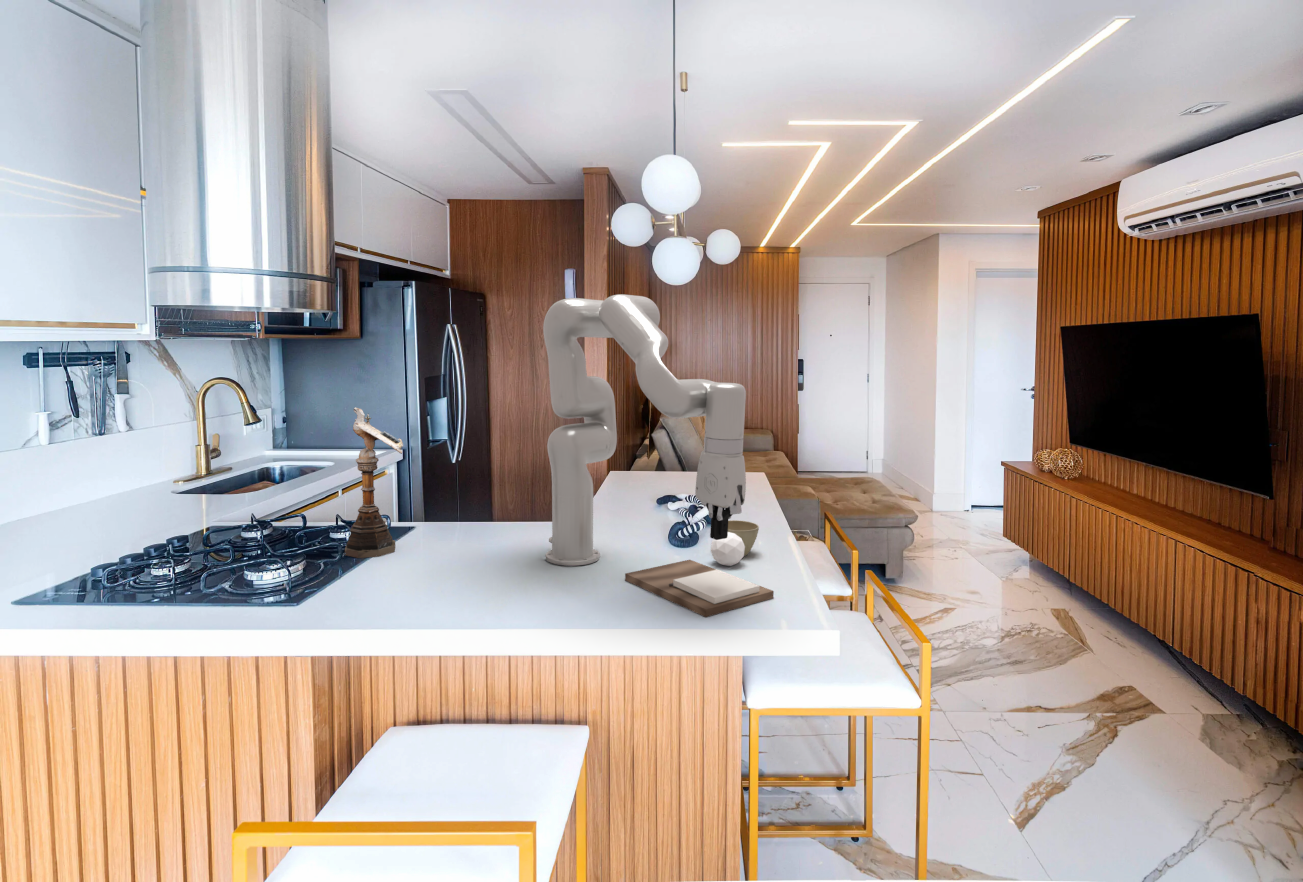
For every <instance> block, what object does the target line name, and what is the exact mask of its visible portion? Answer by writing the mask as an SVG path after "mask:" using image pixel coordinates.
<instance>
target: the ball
mask: <svg viewBox="0 0 1303 882" xmlns="http://www.w3.org/2000/svg"><path fill="white" fill-rule="evenodd" d="M710 545H711V546H710V553H711V556H712V558H713V560H715V561H716V563H718V564H720V565H722V566H727V567H732V566H734V565H736V564H738V563H739V562H741V560H742V558H743V557H745V556H744V550H745V546H744V543H743V541H742V538H740V537H739V536H737V535H736V534H735V533H730V532H728V536H727V538H725V539H720V540H715V539H713V540H711V544H710Z"/></svg>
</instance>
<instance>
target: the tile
mask: <svg viewBox="0 0 1303 882" xmlns="http://www.w3.org/2000/svg"><path fill="white" fill-rule="evenodd" d="M673 586H675V587H677V588H680V589H682V590H684V591H686V592H689V593H691V594H693V595H695V596H697V597H700V598H702V599H704V600H706V601H709V602H711V603H713V604H717V603H721V602H724V601H728V600H732V599H735V598H739V597H743V596H746V595H750V594H754V593H757V592H759V590H760V586H761V585H759V584H756V583H754V582H751V581H748V580H746V579H743V578H741V577H738V576H736V575H733V574H730V573H728V572H725V571H723V570H720V569H716V570H713V571H709V572H704V573H700V574H696V575H692V576H687V577H683V578H679V579H674V580H673Z"/></svg>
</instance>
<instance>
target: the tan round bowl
mask: <svg viewBox="0 0 1303 882" xmlns="http://www.w3.org/2000/svg"><path fill="white" fill-rule="evenodd" d="M759 528H760V526H759V525H758V523H755V522H752V521H747V520H738V519H734V520H733V519H732V520H731V519H728V532H730V533H735V534H736V535H737V536H739V537H740V538H742V541H743V543H744V546H745V550H744V556H743V557H746V556H748V554H749V553H750V551H751V550H752V548H753V547H754V545H755V542H756V540H757V537H758V534H759Z"/></svg>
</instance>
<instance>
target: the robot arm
mask: <svg viewBox="0 0 1303 882" xmlns="http://www.w3.org/2000/svg"><path fill="white" fill-rule="evenodd" d="M660 313H661V312H660V310H659V307H658V306H657V303H655V302H654V301H653V300H652V299H650V298H648V297H647V296H643V295H632V294H624V293H623V294H620V293H619V294H614V295H610V296H608V297H607V298H605V299H604V300H603V299H602V300H600V299H591V298H582V297H581V298H579V297H570V298H564V299H560V300H557V301H556V302H554V303H553V304H552V305H551V306H550V307H549V308H548V311H547V312H546V314H545V316H544V320H543V328H542V329H543V330H542V331H543V340H544V344H545V348H546V354H547V361H548V374H549V375H548V376H549V390H550V391H549V392H550V403H551V407H552V410H553V413H554V414H555V415H556V416H557V417H559V418H562V419H581V418H583V421H584V423H583V422H582V423H581V422H580V423H571V424H565V425H561V426H559V427H557V428H555V429H554V430H553V431H552V432H551V433H550V435H549V436H548V439H547V443H546V444H547V446H546V448H547V455H548V459H549V463H550V472H551V508H552V509H551V510H552V511H551V513H552V515H551V516H552V518H551V529H552V530H551V531H552V532H551V536H550V537H549V538H548V542H549V543H550V544H551V549H550V550H548V551H547V552H546V553H545V560H546V562H548V563H551V564H553V565H559V566H564V567H565V566H567V567H568V566H573V567H574V566H576V567H577V566H585V565H589V564H593V563H595V562H597V561H598V560H600V557H601V556H600V551H598V550H597V549H594V481H593V478H592V475H591V473H590V471H589V468H588V466H587V464H592V463H599V462H603V461H607V460H608V459H610V458H611V457H612V456H613V455H614V453H615V451H616V449H617V444H618V443H617V442H618V434H617V430H618V429H617V419H616V418H617V415H616V402H615V401H616V400H615V395H614V391H613V389H612V387H611V385H610V383H609V382H608V381H607V380H606V379H604V378H603V377H600V376H589V375H588V372H587V359H586V354H585V353H584V350H583V347H582V346H581V344H580V342H578V338H602V339H605V338H606V339H608V338H609V339H610V338H612V339H614V340H615V341H616V342H617V344H618V345H619V346H620V347H621V348H622V350H623V351H624V352H625V353H626V354H627V355H628V356H629V358H630V359H631V360H632V361H633V362H634V363H635V375H636V379H637V382H638V386H639V387H640V390H641V391H642V392H643V394H644V395H645V396H646V398H647V399H648V400H649V401H650V403H652V405H653V406H654V407H655V408H656V409H657V410H658V411H659V412H660V413H661V414H663V415H664V416H666V417H668V418H670V419H676V420H677V419H686V418H687V419H688V418H698V417H705V421H704V422H705V423H704V438H703V450H702V451H700V452H701V453H700V456H699V459H698V465H697V471H696V479H695V498H696V499H697V500H698V501H699V502H700V504H701V505H702V506H704V507H706V509H707V511H708V516H709V518H710V531H709V538H710V539H713V540H714V539H715V540H720V539H725V538H727V536H728V520H731V519H732V516H733V515H739V514H742V506H743V505H744V504H745V501H746V500H745V499H746V491H747V489H746V488H747V485H746V484H747V482H746V481H747V478H746V475H747V474H746V464H745V463H746V462H745V456H744V455H743V454H744V453H743V452H744V436H745V435H744V432H745V420H746V419H745V416H746V415H745V414H746V398H747V392H746V388H745V386H744V385H743V384H741V383H734V382H717V381H712V380H711V379H706V378H705V379H703V378H685V379H684V378H683V379H678V378H676V377H675V375H674V374H673V373H672V372H671V371H670V370H669V369H668V368H667V366H666V365H665V363H664V362H663V360H662V357H664V355H665V354H666V352H667V350H668V347H669V339H668V336H667V335H666V333H664V332H663V331H662V330H661V328H660V327H659V325H660V322H661V314H660Z"/></svg>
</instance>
